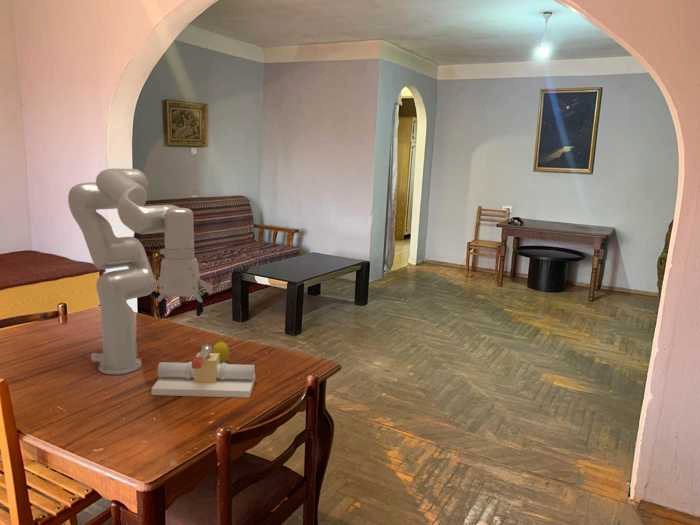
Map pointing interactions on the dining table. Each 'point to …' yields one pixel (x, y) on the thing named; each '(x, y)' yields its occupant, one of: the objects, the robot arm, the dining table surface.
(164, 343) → the dining table surface
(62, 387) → the dining table surface
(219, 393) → the valve base
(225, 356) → the lemon
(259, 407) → the dining table surface
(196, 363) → the valve lever
